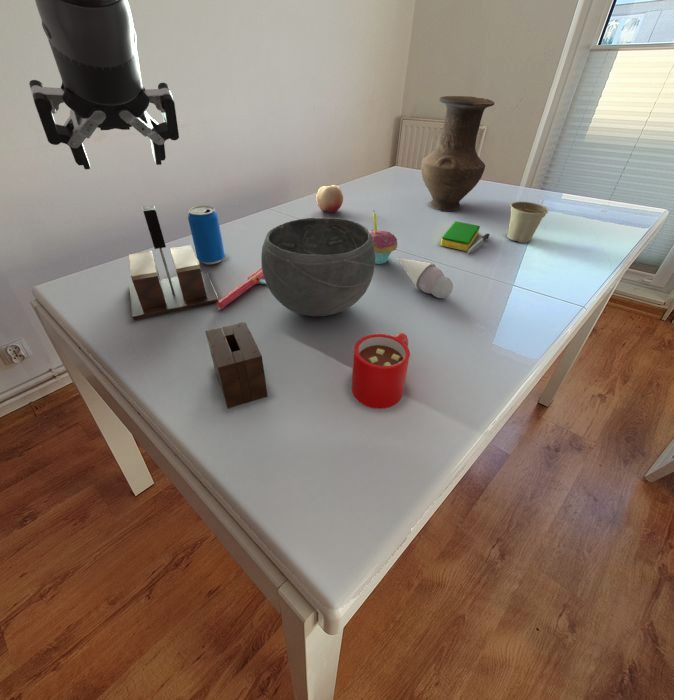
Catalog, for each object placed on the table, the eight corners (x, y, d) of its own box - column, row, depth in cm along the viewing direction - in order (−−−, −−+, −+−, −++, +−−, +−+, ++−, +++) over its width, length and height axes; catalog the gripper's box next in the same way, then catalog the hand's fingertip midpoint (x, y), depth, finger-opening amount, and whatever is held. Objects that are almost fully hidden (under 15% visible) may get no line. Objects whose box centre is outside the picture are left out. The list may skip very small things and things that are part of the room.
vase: (452, 220, 115) (477, 104, 96) (403, 204, 126) (417, 97, 107) (485, 207, 126) (514, 99, 107) (438, 193, 136) (456, 93, 118)
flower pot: (515, 229, 111) (525, 199, 105) (544, 240, 105) (556, 209, 99) (494, 236, 107) (503, 204, 101) (523, 248, 100) (534, 215, 95)
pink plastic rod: (292, 267, 91) (276, 257, 92) (294, 259, 90) (277, 250, 90) (230, 316, 74) (210, 304, 75) (231, 309, 73) (211, 296, 73)
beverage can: (226, 264, 90) (216, 213, 82) (197, 267, 89) (185, 215, 81) (225, 252, 95) (216, 204, 87) (198, 255, 93) (186, 206, 86)
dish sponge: (478, 233, 108) (480, 225, 106) (466, 251, 98) (469, 242, 96) (453, 228, 110) (455, 220, 109) (439, 245, 101) (441, 237, 99)
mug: (422, 370, 62) (430, 331, 57) (387, 416, 54) (394, 376, 49) (379, 353, 65) (384, 314, 60) (341, 394, 57) (343, 354, 52)
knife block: (227, 409, 55) (217, 367, 50) (215, 370, 61) (205, 330, 56) (267, 396, 57) (262, 355, 52) (251, 360, 63) (245, 321, 58)
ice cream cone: (393, 272, 88) (444, 308, 81) (383, 264, 83) (436, 301, 76) (409, 250, 86) (462, 284, 80) (400, 240, 81) (456, 276, 74)
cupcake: (357, 265, 91) (360, 215, 83) (364, 250, 97) (367, 203, 90) (393, 269, 89) (399, 219, 82) (397, 254, 96) (403, 206, 88)
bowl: (380, 288, 82) (387, 220, 73) (356, 345, 67) (361, 268, 57) (290, 274, 87) (286, 208, 77) (248, 324, 71) (236, 249, 62)
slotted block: (133, 321, 71) (118, 282, 66) (130, 289, 80) (117, 253, 75) (219, 303, 77) (211, 266, 71) (207, 275, 86) (199, 240, 80)
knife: (467, 258, 95) (469, 250, 94) (464, 257, 95) (466, 249, 94) (488, 240, 104) (490, 233, 103) (485, 239, 105) (487, 232, 103)
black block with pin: (168, 296, 76) (143, 211, 66) (167, 289, 78) (142, 206, 68) (179, 294, 77) (155, 210, 66) (177, 287, 79) (154, 205, 68)
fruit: (332, 205, 124) (333, 179, 119) (347, 212, 119) (348, 186, 114) (312, 209, 121) (311, 183, 116) (325, 217, 115) (325, 190, 110)
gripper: (160, 11, 40) (170, 137, 54) (-10, -5, 34) (53, 141, 48) (181, 67, 38) (186, 180, 53) (7, 60, 32) (67, 190, 47)
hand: (122, 161), depth 50 cm, fingers open, 8 cm apart
